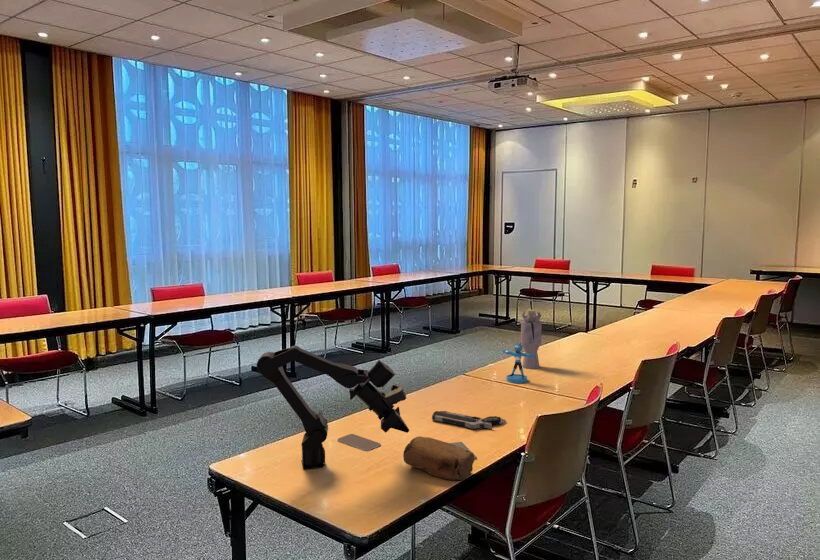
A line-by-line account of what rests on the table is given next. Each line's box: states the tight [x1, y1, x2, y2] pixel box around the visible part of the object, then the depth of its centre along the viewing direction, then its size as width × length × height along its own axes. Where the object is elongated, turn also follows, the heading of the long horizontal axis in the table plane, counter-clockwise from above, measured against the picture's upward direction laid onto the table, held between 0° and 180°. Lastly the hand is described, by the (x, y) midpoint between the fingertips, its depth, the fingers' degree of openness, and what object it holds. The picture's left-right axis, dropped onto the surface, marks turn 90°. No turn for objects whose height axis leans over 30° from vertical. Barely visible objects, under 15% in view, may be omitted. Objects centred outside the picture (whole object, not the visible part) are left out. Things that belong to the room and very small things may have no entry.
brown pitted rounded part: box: [402, 435, 475, 481], centre depth 177 cm, size 11×8×20 cm
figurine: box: [501, 342, 536, 384], centre depth 277 cm, size 18×10×18 cm, turn 52°
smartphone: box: [337, 433, 382, 452], centre depth 201 cm, size 7×1×15 cm
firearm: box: [431, 410, 507, 430], centre depth 221 cm, size 3×24×15 cm
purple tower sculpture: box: [520, 309, 543, 370], centre depth 303 cm, size 10×10×30 cm
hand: (408, 431), depth 184 cm, fingers closed
